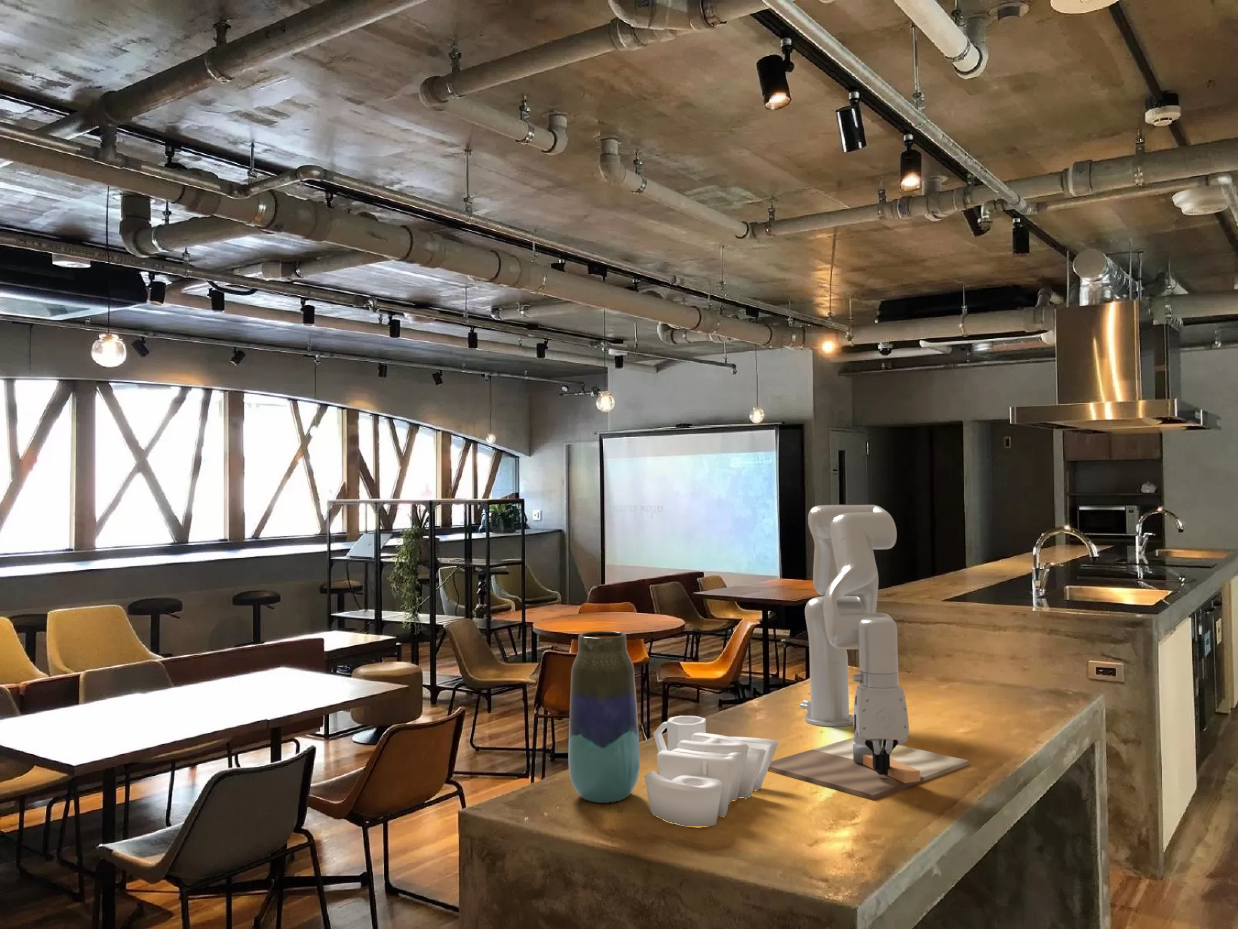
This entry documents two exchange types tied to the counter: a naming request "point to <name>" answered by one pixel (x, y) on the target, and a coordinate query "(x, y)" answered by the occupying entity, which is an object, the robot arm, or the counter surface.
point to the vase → (603, 719)
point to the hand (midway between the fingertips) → (881, 772)
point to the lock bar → (896, 768)
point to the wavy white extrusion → (707, 777)
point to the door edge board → (861, 768)
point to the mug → (679, 730)
